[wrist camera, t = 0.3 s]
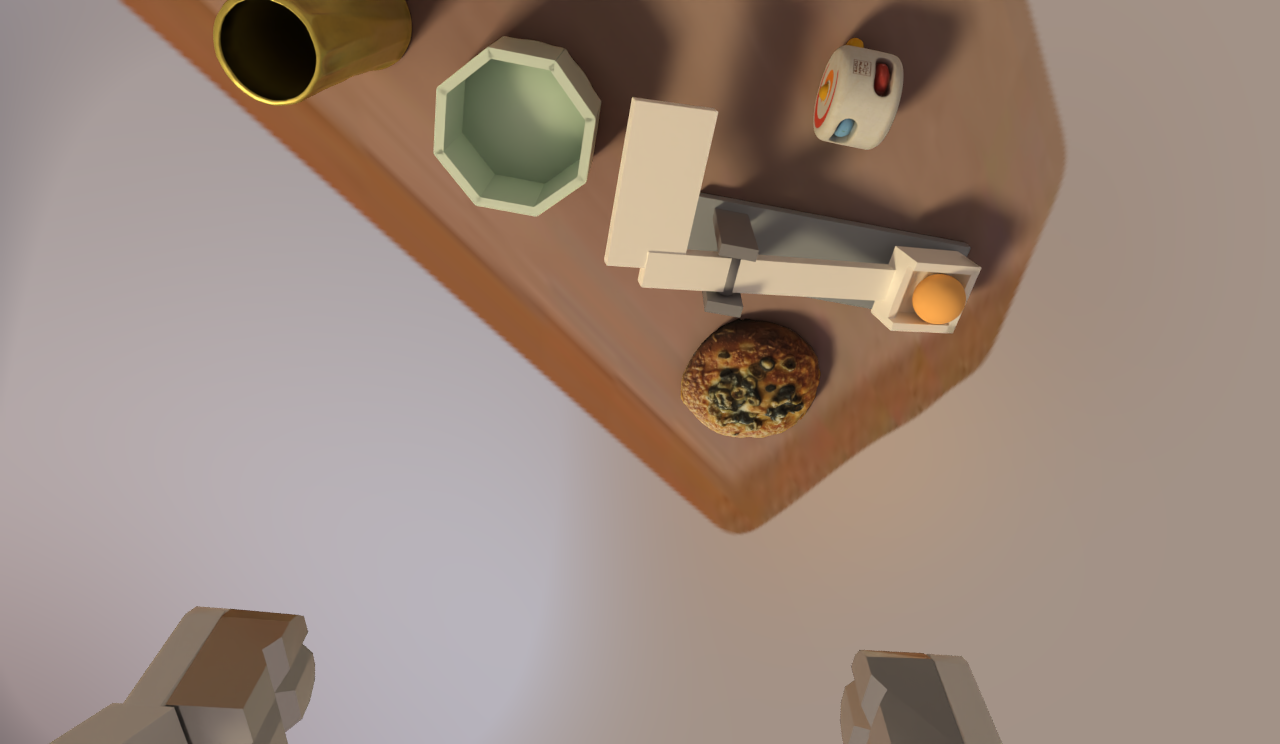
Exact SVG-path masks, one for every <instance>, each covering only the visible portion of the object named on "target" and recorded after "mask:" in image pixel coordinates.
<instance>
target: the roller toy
mask: <svg viewBox="0 0 1280 744" xmlns="http://www.w3.org/2000/svg"><path fill="white" fill-rule="evenodd" d="M902 88H903V66H902V63H901V61H900V59H899V58H898V57H897V56H895V55H893V54H889V53H885V52H880V51H876V50H871V49H866V48H864V45H863V42H862V41H861V40H860V39H858V38H852V39H850V40H849V41H848V42H847V43H846V45H844V46H841V47H839V48H838V49H837V50H836V51H835V52H834V53H833V55H832V56H831V58H830V60H829V62H828V64H827V66H826V68H825V71H824V74H823V77H822V80H821V83H820V86H819V90H818V94H817V98H816V103H815V108H814V118H813V126H814V132H815V134H816V136H817V137H818V138H819V139H820V140H823V141H827V142H831V143H836V144H840V145H845V146H850V147H855V148H860V149H866V150H869V149H872V148H874V147H876V146H878V145H879V144H880V143H881V142H882V141H883V140H884V138H885V137H886V135H887V133H888V132H889V130H890V128H891V125H892V123H893V121H894V118H895V116H896V113H897V110H898V106H899V103H900V98H901V94H902Z"/></svg>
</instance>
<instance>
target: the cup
mask: <svg viewBox="0 0 1280 744" xmlns="http://www.w3.org/2000/svg"><path fill="white" fill-rule="evenodd" d="M564 49H565V48H562V47H557V46H552V45H549V44H547V43H544V42H540V41H536V40H529V39H517V38H512V37H507V36H503V37H501V38H500V39H498V40H497V41H496V42H494V43H493V44H491V45H490V46H489V47H487V48H486V49H485V50H483V51H482V52H481V53H480V54H478V55H477V56H476V57H475V58H473V59H472V60H471V61H470V62H468V63H467V64H466V65H465V66H463V67H462V68H461V69H459V70H458V71H457V72H456V73H454V74H453V75H452V76H451V77H449V78H448V79H447V80H446V81H444V82H443V83H442V84H441V85H439V86H438V87H437V90H436V111H435V132H434V153H435V154H434V155H435V156H436V157H437V159H438V160H439V161H440V162H441V164H442V165H443V166H444V167H445V169H446V170H447V171H448V172H449V173H450V175H451V176H452V177H453V178H454V180H455V181H456V182H457V183H458V185H459V186H460V187H461V188H462V190H463V191H464V192H465V193H466V194H467V196H468V197H469V198H470V199H471V201H472V202H473V203H474V204H476V206H481V207H487V208H492V209H498V210H503V211H509V212H514V213H519V214H525V215H530V216H538V215H540V214H541V213H543V212H544V211H546V210H547V209H549V208H550V207H551V206H553V205H554V204H556V203H557V202H559V201H560V200H562V199H563V198H564V197H566V196H567V195H569V194H570V193H572V192H573V191H575V190H576V189H578V188H579V187H580V186H582V185H583V184H585V183H586V181H587V178H588V174H589V171H590V167H591V164H592V161H593V154H594V148H595V141H596V135H597V130H598V122H599V115H600V109H601V100H600V99H599V97H598V96H597V94H596V93H595V91H594V90H593V88H592V86H591V83H590V81H589V80H588V78H587V76H586V75H585V73H584V72H583V70H582V69H581V68H580V67H579V65H578V64H577V63H576V62H575V61H574V60H573V59H572V58H571V56H570V55H569V53H568V52H567V50H566V49H565V50H564Z"/></svg>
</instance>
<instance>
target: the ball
mask: <svg viewBox="0 0 1280 744" xmlns="http://www.w3.org/2000/svg"><path fill="white" fill-rule="evenodd" d="M912 303H913V307H914V310H915V312H916V313H917V315H918V316H919V317H920V318H921V319H923V320H924V321H926V322H928V323H932V324H945V323H948V322H951V321H953V320H954V319H956V318H957V317H958V316H959V315H960V314H961V312H962V311H963V309H964V307H965V303H966V293H965V290H964V288H963V286H962V284H961V283H960V282H959V281H958V280H957V279H955V278H954V277H952V276H949V275H945V274H935V275H931V276H928V277H926V278H925V279H923V280H922V281H921V282H920V283H919V284H918V285H917V286H916V288H915V290H914V293H913V297H912Z"/></svg>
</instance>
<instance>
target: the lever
mask: <svg viewBox="0 0 1280 744" xmlns="http://www.w3.org/2000/svg"><path fill="white" fill-rule="evenodd" d="M717 115H718V111H717V110H715V109H714V108H708V107H701V106H694V105H687V104H679V103H672V102H665V101H658V100H650V99H643V98H636V97H632V101H631V107H630V112H629V118H628V124H627V130H626V136H625V141H624V147H623V153H622V159H621V165H620V171H619V176H618V182H617V188H616V194H615V200H614V206H613V211H612V217H611V223H610V229H609V235H608V240H607V246H606V252H605V258H604V261H605V263H606V265H607V266H622V267H637V268H640V272H639V277H638V282H639V283H640V285H641V287H645V288H663V289H680V290H698V291H715V292H718V293H719V294H722V295H726V296H730V295H733V293H750V294H768V295H785V296H803V297H820V298H838V299H855V300H873V301H875V302H874V305H873V307H872V310H871V313H872V314H873V315H874V316H876V317H877V318H878V319H879V320H880V321H881V322H882V323H883V324H884V325H885V326H886V327H887V328H888V329H889V330H890V331H911V332H934V333H953V331H954V329H955V327H956V325H957V322H958V320H959V318H960V316H961V314H960V315H959V316H958V317H957V318H956V319H954V320H953V321H951V322H948V323H945V324H932V323H928V322H926V321H924V320H923V319H921V318H920V317H919V316H918V315H917V313H916V312H915V310H914V307H913V303H912V297H913V293H914V290H915V288H916V286H917V285H918V284H919V283H920V282H921V281H922V280H923V279H925V278H926V277H928V276H931V275H935V274H945V275H949V276H952V277H954V278H955V279H957V280H958V281H959V282H960V283H961V284H962V286H963V288H964V290H965V293H966V302H967V300H968V297H969V295H970V293H971V291H972V288H973V286H974V284H975V282H976V279H977V277H978V275H979V272H980V270H981V268H982V267H980V266H979V265H977V264H976V263H974V262H973V261H971V260H970V259H968V258H967V257H965V256H964V255H963V254H961V253H960V252H958V251H949V250H937V249H926V248H914V247H902V246H895V248H894V251H893V254H892V257H891V259H890V262H889V264H877V263H864V262H850V261H837V260H823V259H810V258H797V257H783V256H770V255H758V256H757V259H756V262H753V261H747V260H742V259H736V258H731V257H725V256H720V255H719V254H718V252H717V251H703V250H690V249H687V247H688V242H689V238H690V233H691V229H692V225H693V220H694V216H695V212H696V207H697V203H698V198H699V194H700V190H701V185H702V181H703V177H704V172H705V168H706V163H707V159H708V155H709V150H710V146H711V142H712V137H713V133H714V128H715V124H716V120H717ZM965 304H966V303H965ZM961 313H962V312H961Z"/></svg>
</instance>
